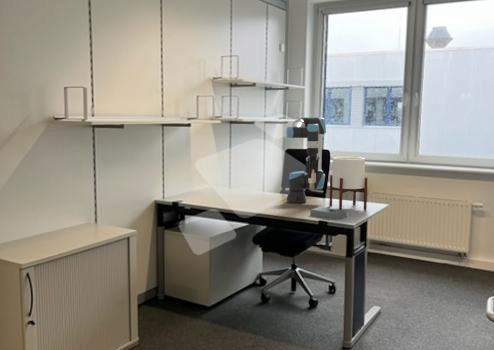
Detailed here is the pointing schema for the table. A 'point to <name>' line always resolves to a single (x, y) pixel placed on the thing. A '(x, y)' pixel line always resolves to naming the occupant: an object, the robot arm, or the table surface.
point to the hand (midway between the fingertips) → (311, 182)
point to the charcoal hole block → (328, 213)
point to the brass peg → (312, 182)
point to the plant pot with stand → (348, 178)
